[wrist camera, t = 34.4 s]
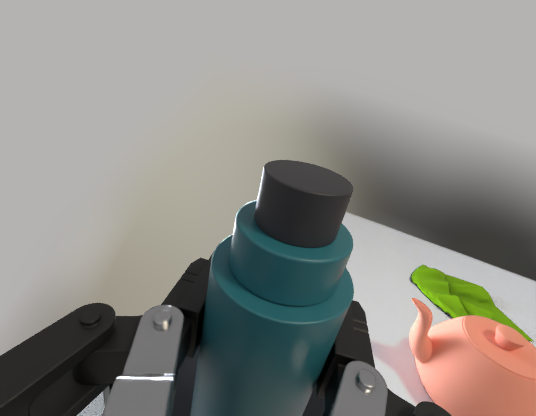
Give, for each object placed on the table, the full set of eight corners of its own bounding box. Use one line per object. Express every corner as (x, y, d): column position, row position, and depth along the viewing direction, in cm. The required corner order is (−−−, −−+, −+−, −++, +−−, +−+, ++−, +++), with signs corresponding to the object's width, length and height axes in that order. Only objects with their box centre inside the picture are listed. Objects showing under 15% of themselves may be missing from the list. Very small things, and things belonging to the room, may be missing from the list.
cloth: (410, 259, 71) (414, 251, 70) (511, 298, 64) (517, 290, 63) (409, 310, 54) (415, 301, 53) (547, 372, 47) (557, 362, 46)
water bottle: (192, 524, 10) (255, 215, 5) (182, 400, 14) (210, 142, 8) (298, 481, 12) (434, 216, 6) (264, 381, 16) (334, 155, 10)
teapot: (378, 402, 36) (419, 337, 31) (379, 321, 50) (408, 265, 44) (581, 500, 31) (671, 441, 26) (522, 380, 44) (574, 324, 39)
